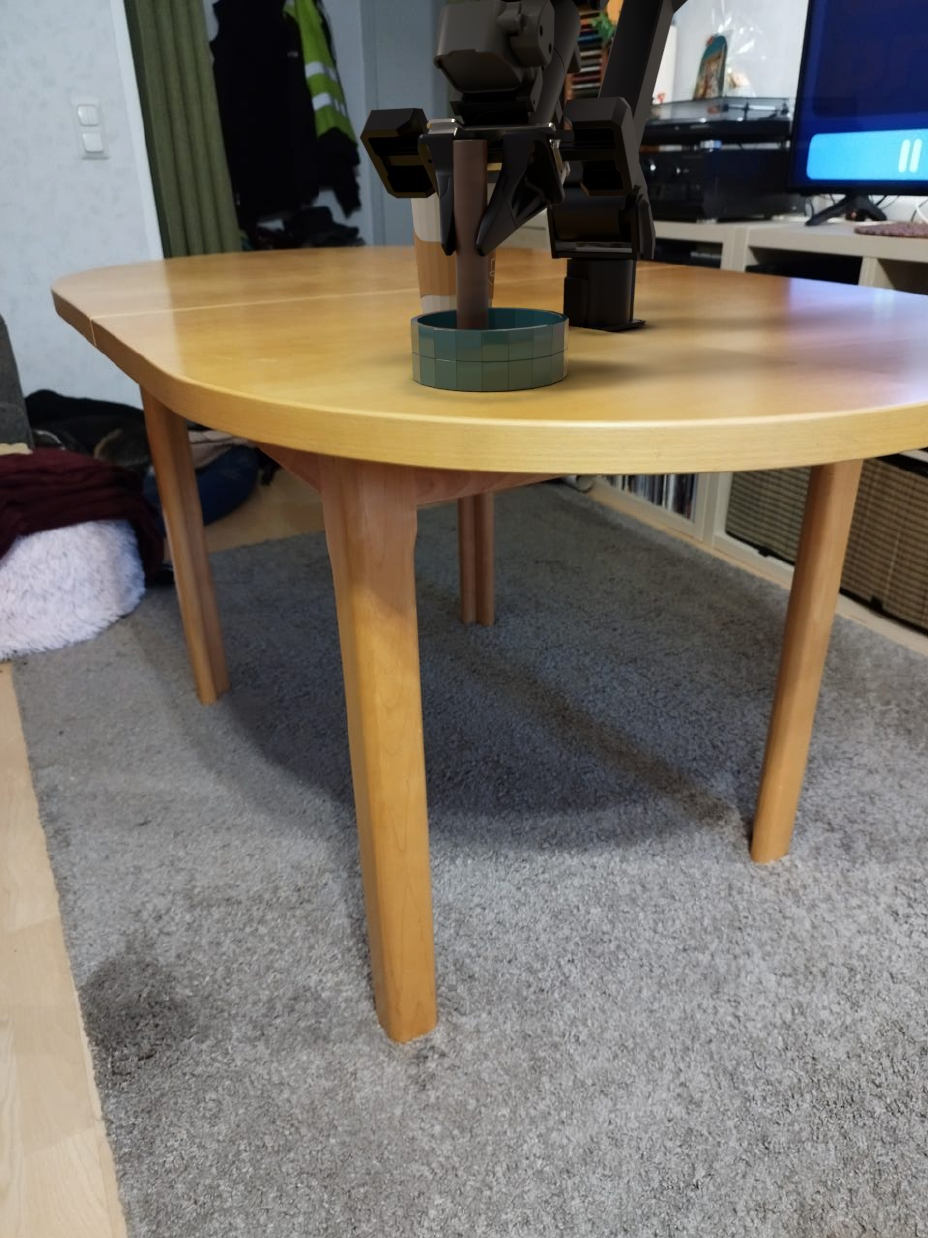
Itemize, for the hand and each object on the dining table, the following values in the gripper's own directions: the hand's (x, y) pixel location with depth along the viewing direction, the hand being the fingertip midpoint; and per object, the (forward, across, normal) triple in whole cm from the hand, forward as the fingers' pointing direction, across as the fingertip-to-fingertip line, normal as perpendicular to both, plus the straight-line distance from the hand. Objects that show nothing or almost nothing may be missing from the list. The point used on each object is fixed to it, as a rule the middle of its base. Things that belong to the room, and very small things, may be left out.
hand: (462, 251), depth 59 cm
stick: (+5, 0, +7) cm, 8 cm away
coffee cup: (-9, -11, +22) cm, 27 cm away
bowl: (+5, +1, +8) cm, 9 cm away
